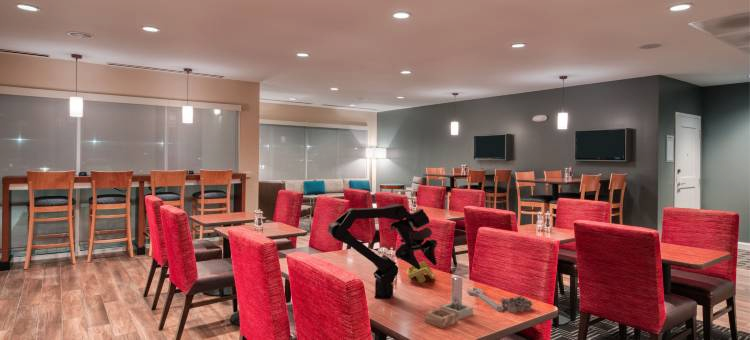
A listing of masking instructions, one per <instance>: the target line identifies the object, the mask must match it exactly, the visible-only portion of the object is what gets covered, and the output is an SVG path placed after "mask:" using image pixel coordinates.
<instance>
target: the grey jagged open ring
mask: <svg viewBox="0 0 750 340" xmlns="http://www.w3.org/2000/svg"><path fill="white" fill-rule="evenodd" d="M499 303H501V305H500V306H502V307H503V308H504V311H505V310H506V311H507V313H511V314H512V313H513V314H516V313H517V312H521V313H522V312H523V313H524V311H529V312H530V311H532V306H533V305H534V302H532V301H531V300H528V298H526V297H525V298H524V296H523V295H520V296H517V297H516V296H515V297H514V296H513V297H508V298H501V299H499Z"/></svg>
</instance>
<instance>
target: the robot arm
mask: <svg viewBox="0 0 750 340" xmlns="http://www.w3.org/2000/svg"><path fill="white" fill-rule="evenodd" d="M363 219H390V220H392V221H391V223H390V224H391V225H390V229H389V230H390V231H393V230H396V232H397V233H398V235H399V236H400V237H401V239H400V242H401V243H402V244H400V245H399V247H397V249H396V250H395V253H394V255H395V257H396V259H397V260H398V259H400V260H401V261H403V262H405V263H408V264H409V265H411V266H414V267H415V268H417V269H418V270H419V269H420V268H421V267H420V265H419V263H420V262H418V259H417V258H416V256H415V252H416V251H421V252H422V253H423V256H424V257H425V258H426V259H427V260H428V261H429V262H430V263H431V264H432V266H435V267H436V266H437V265H438V263H437V259H436V258H437V257H436V254H435V249H436V247H437V245H438V242H437V241H436V239H435V238H431V235H432V233H433V231H432V229H431V228H430V227H428V226H427V225H429V224H430V218H429V217H428V216H427V213H426V212H425V211H424V209H423V208H419V209H417V210H416V211H413V212H412V213H411V212H409V211H408V210H407V207H406V206H405V205H402V204H398V203H392V204H389V205H385V206H382V207H366V208H365V207H361V208H359V207H358V208H352V207H351V208H348V209H346V211H345V212H344V213H343V214H342V215H340V216H339V217H338V218H337V219H336V220H335V221H333V222H331V223H330V224H329V226H328V228H327V233H328V235H330V236H331V237H332V238H334V240H337V241H339V242H341V243H343V244H346V245H347V246H349V247H351V248H352V249H354V251H356V252H358V253H359V254H360V255H361V256H363V257H364V258H366V259H367V260H368V261H370V262H371V263H372V264H373V265H374V266H375V268H376V270H375V271H374V272H373V276H374V279H375V282H374V283H375V284H374V287H375V289H374V299H375V298H377V299H388V300H389V299H390V300H391V299H392V297H393V295H394V280H395V279H396V277H397V276H398V274H399V267H398V266H397V262H395V261H394V260H393V259H391V258H390V257H389V256H387V255H385V254H382V256H380V255H378V254H377V253H376V252H375V251H373V250H372V249H370V248H369V247H368V246H367V245H365V244H364V243H363V242H361V241H360V240H358V239H357V238H356V237H355V236H354V235H353V234H352V233H351V232H350V231H349V230H350V229H351V228H352V226H353V224H354V222H355V221H356V220H363ZM394 220H397V221H394ZM426 226H427V227H426ZM423 227H424V228H423ZM420 228H422V229H420ZM428 238H431V239H428ZM425 239H426V241H425Z"/></svg>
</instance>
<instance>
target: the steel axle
mask: <svg viewBox="0 0 750 340" xmlns="http://www.w3.org/2000/svg"><path fill="white" fill-rule="evenodd" d="M450 303H451V308H452V309H455V310H458V311H459V310H462V304H463V277H460V276H453V277H452V278H451V302H450Z"/></svg>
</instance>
